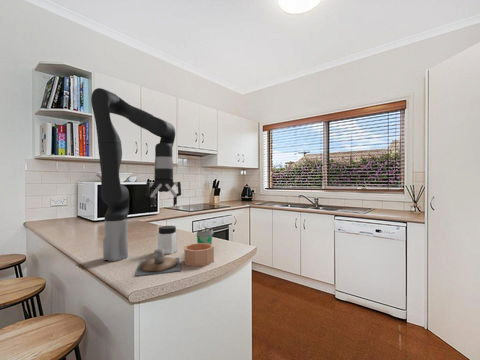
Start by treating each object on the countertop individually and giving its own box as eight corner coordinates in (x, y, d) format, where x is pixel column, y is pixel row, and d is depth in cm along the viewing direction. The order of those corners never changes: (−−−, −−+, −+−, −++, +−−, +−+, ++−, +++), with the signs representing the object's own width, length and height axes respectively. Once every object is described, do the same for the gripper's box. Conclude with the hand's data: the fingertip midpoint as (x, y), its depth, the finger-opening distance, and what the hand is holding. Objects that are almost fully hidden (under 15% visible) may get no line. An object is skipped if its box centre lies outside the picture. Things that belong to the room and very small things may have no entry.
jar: (156, 254, 112) (156, 229, 112) (158, 250, 120) (158, 226, 120) (176, 253, 114) (176, 228, 114) (177, 248, 122) (176, 225, 122)
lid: (138, 274, 88) (138, 257, 88) (142, 262, 101) (142, 247, 101) (177, 269, 91) (177, 253, 92) (176, 258, 105) (176, 244, 105)
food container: (209, 253, 113) (208, 232, 113) (196, 253, 114) (196, 232, 114) (216, 246, 125) (216, 227, 125) (205, 246, 126) (205, 227, 126)
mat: (135, 276, 86) (135, 275, 86) (140, 262, 102) (140, 261, 102) (180, 271, 91) (180, 270, 91) (179, 258, 106) (179, 257, 106)
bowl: (185, 267, 95) (185, 251, 95) (183, 258, 107) (183, 244, 107) (215, 263, 99) (215, 249, 99) (210, 255, 110) (210, 242, 110)
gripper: (145, 167, 97) (144, 207, 96) (181, 167, 100) (181, 206, 100) (147, 168, 104) (146, 205, 104) (180, 168, 108) (180, 205, 107)
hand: (163, 206), depth 102 cm, fingers open, 8 cm apart
